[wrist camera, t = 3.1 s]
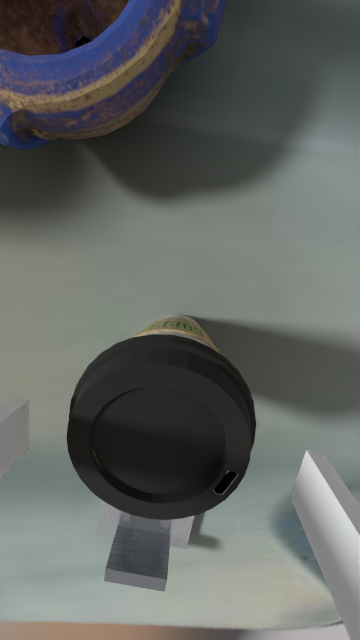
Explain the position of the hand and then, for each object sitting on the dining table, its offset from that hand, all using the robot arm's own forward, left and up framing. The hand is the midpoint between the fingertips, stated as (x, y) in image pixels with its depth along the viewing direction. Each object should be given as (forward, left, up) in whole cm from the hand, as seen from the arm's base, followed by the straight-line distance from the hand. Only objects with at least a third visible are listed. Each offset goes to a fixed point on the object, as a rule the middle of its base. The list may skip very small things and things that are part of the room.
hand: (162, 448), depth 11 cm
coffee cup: (0, 0, -15) cm, 15 cm away
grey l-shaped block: (+21, 0, -15) cm, 25 cm away
